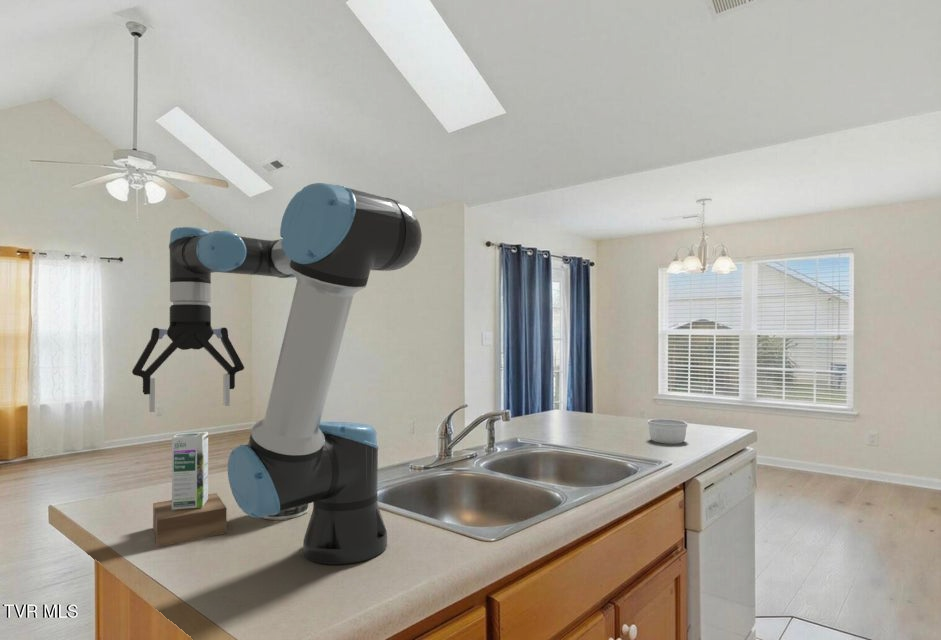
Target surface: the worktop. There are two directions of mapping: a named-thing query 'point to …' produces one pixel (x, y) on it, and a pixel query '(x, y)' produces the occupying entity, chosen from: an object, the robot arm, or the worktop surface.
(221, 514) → the plinth
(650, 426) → the ramekin
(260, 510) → the robot arm
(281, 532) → the worktop surface
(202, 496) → the syrup box
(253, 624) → the worktop surface
